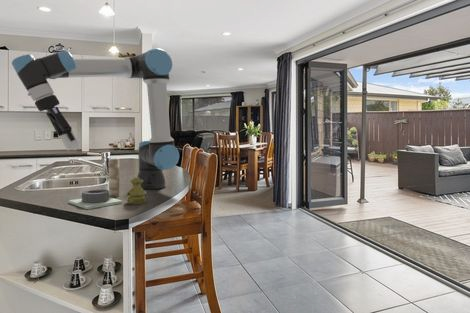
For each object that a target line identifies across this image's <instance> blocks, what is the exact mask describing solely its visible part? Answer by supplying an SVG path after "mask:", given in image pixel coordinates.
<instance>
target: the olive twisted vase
mask: <svg viewBox="0 0 470 313" xmlns="http://www.w3.org/2000/svg"><path fill="white" fill-rule="evenodd" d="M129 182H130V183H131V184H132V187H130V189H128V190H127V191H126V195H127V196H126V204H128V205H143V204H145V203H147V197H146V195H147V191H146V189H143V188H141V186H140V184H141V183H142V182H143V180H142V179H140V178H139V177H137V176H135V177H133V178H132V179H130V180H129Z"/></svg>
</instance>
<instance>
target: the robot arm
mask: <svg viewBox="0 0 470 313" xmlns="http://www.w3.org/2000/svg"><path fill="white" fill-rule="evenodd" d="M172 60H173V59H172V57H171V55H170V54H168V52H167V51H166V50H164V49H162V48H151V49H148V50H147V51H145V52H143V53H141V54H138V55H134V56H126V57H124V58H123V59H122V58H83V59H82V58H74V57H73V55H72V54H71V52H70V51H68V50H62V51H58V52H55V53H52V54H50V55H46V56H43V57H39V58H36V57H35V56H33V55H32V54H23V55H21V56H17V57H16V58H14V59H12V61H11V65H12V67H13V69H14V70H15V73H16V76H18V78H19V79H20V82H21V83H22V84H23V86H24V89H26V91H27V96H28V97H30V98H31V99H32V101H34V105H35V106H36V108H37V110H38V111H39V112H44V111H46V116H47V118H49V120H50V122H51V125H52V126H53V129H54V130H55V133H56V135H57V136H59V138H60V140H61V141H62V143H63V146H65V148H66V150H67V151H68V152H69V151H70V150H73V151H76V150H78V149H80V148H81V147H82V146H81V145H80V143H79V141H78V139H77V138H76V135H75V134H74V132H73V131H72V126H71V125H70V124H69V123H68V121H67V120H66V118H65V117H64V115H63V114H62V112H61V111H60V109H59V107H58V106H59V105H60V101H59V99H58V97H57V96H56V95H55V94H54V93H55V92H54V90H53V88H52V86H51V85H50V83H49V82H48V80H47V79H49V80H56V79H64V78H65V79H67V78H95V77H97V78H99V77H103V78H104V77H105V78H106V77H126V78H127V79H142V82H144V83H145V84H146V90H147V97H148V110H149V111H148V113H149V125H150V133H151V135H150V136H151V138H150V139H149V140H143V141H140V142H139V144H138V148H137V150H138V171H137V172H138V173H137V175H136V177H139V178H140V179H142V180H143V182H142V183H141V184H140V186H141V188H143V190H159V189H164V188H166V186H167V183H166V179H165V176H164V172H163V170H165V171H167V170H171V169H173V168H174V167H175V166H176V165H177V164H178V163H179V159H180V152H179V150H178V148H177V147H175V139H174V138H173V137H172V136H171V126H170V115H169V101H168V90H167V88H168V87H167V84H168V83H169V82H170V72H171V71H172V68H173V61H172Z"/></svg>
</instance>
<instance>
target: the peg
mask: <svg viewBox="0 0 470 313" xmlns="http://www.w3.org/2000/svg"><path fill="white" fill-rule="evenodd" d="M108 190H109V197H111V198H117V197H120V158H108Z"/></svg>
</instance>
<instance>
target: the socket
mask: <svg viewBox="0 0 470 313" xmlns="http://www.w3.org/2000/svg"><path fill="white" fill-rule="evenodd" d="M68 204H71V205H74V206H76V207H79V208H82V209H85V210H92V209H96V208H103V207H108V206H114V205H119V204H120V205H121V204H123V200H121V199H117V198H115V197H109V189H87V190H82V191H81V198H77V199H70V200H68Z"/></svg>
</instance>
